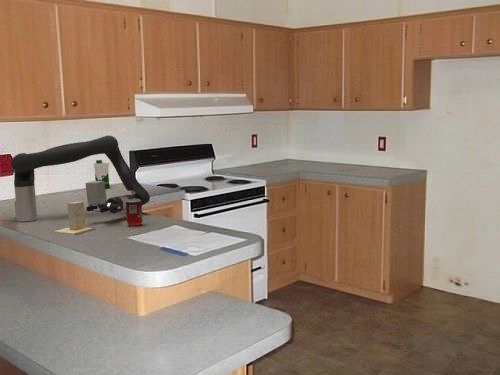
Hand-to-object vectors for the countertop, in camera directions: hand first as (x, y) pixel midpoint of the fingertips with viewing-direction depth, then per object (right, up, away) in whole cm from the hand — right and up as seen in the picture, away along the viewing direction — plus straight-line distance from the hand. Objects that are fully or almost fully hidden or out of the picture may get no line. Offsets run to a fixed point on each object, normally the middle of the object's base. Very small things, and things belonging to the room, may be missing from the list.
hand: (93, 209), depth 242 cm
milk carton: (-32, +9, +128) cm, 133 cm away
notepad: (-7, -9, -6) cm, 13 cm away
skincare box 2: (-11, -2, +44) cm, 45 cm away
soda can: (+19, -7, +2) cm, 20 cm away
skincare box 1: (-6, -9, -5) cm, 11 cm away
